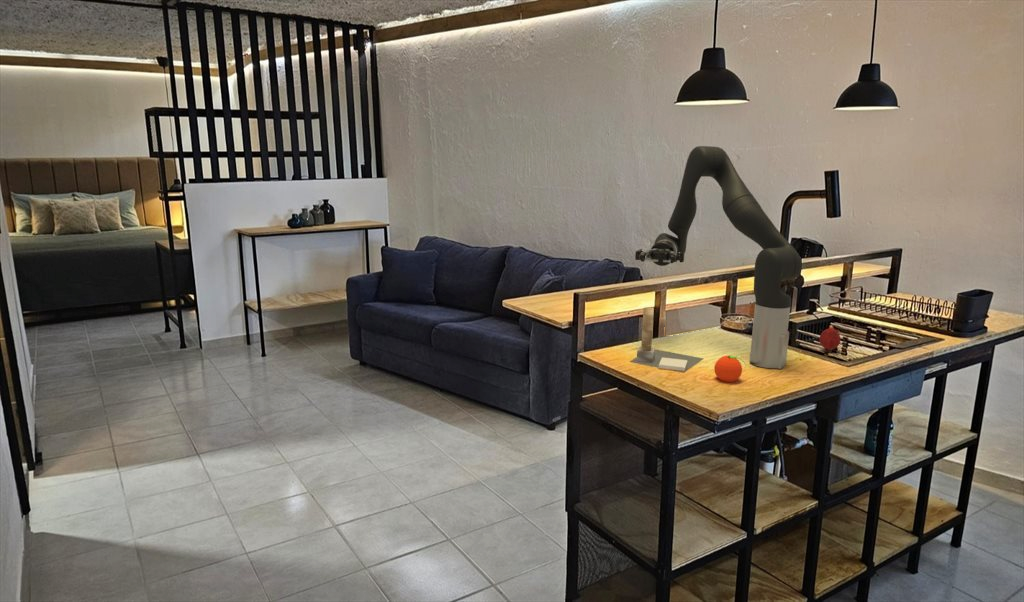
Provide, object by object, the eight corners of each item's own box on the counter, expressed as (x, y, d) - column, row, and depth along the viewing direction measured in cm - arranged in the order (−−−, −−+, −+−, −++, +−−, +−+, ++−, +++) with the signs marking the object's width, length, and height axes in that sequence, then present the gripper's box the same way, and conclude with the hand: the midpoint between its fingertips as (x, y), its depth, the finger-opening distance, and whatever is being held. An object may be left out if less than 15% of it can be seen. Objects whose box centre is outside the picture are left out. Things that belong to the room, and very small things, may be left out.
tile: (687, 360, 187) (685, 367, 180) (687, 364, 187) (684, 371, 181) (662, 357, 189) (658, 364, 183) (661, 361, 189) (658, 368, 183)
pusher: (654, 358, 192) (657, 307, 189) (652, 362, 188) (655, 310, 185) (639, 356, 193) (642, 306, 190) (636, 360, 189) (639, 309, 186)
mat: (703, 360, 193) (703, 358, 193) (683, 374, 180) (683, 372, 180) (651, 350, 202) (651, 348, 201) (629, 363, 189) (629, 361, 189)
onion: (842, 354, 201) (845, 328, 199) (823, 353, 201) (826, 327, 200) (833, 348, 207) (836, 323, 205) (815, 348, 207) (818, 323, 205)
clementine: (740, 377, 179) (742, 352, 177) (748, 386, 172) (751, 360, 170) (710, 377, 179) (712, 351, 177) (717, 386, 172) (719, 359, 170)
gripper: (641, 239, 211) (633, 244, 196) (687, 241, 207) (682, 247, 192) (640, 262, 213) (631, 270, 198) (686, 265, 208) (681, 273, 193)
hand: (656, 258), depth 195 cm, fingers open, 8 cm apart
